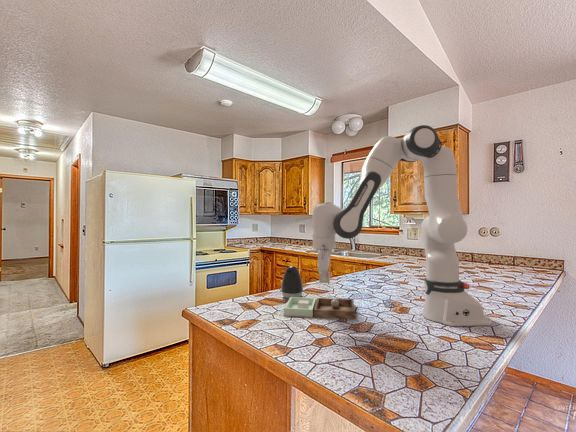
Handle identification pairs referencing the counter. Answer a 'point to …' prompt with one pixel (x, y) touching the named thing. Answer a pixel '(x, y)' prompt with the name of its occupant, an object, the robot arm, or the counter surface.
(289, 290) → the black rounded cone
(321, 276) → the beige cube
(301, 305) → the small beige block
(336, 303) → the round pebble
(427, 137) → the robot arm
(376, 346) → the counter surface
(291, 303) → the green tray
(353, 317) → the walnut crate
